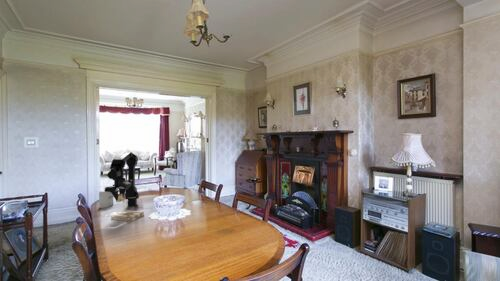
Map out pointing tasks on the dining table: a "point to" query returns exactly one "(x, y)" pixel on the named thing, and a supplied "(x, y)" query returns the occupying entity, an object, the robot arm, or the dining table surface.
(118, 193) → the gold cylinder
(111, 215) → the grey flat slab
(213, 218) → the dining table surface
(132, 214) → the hole deck
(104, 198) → the supplement box
